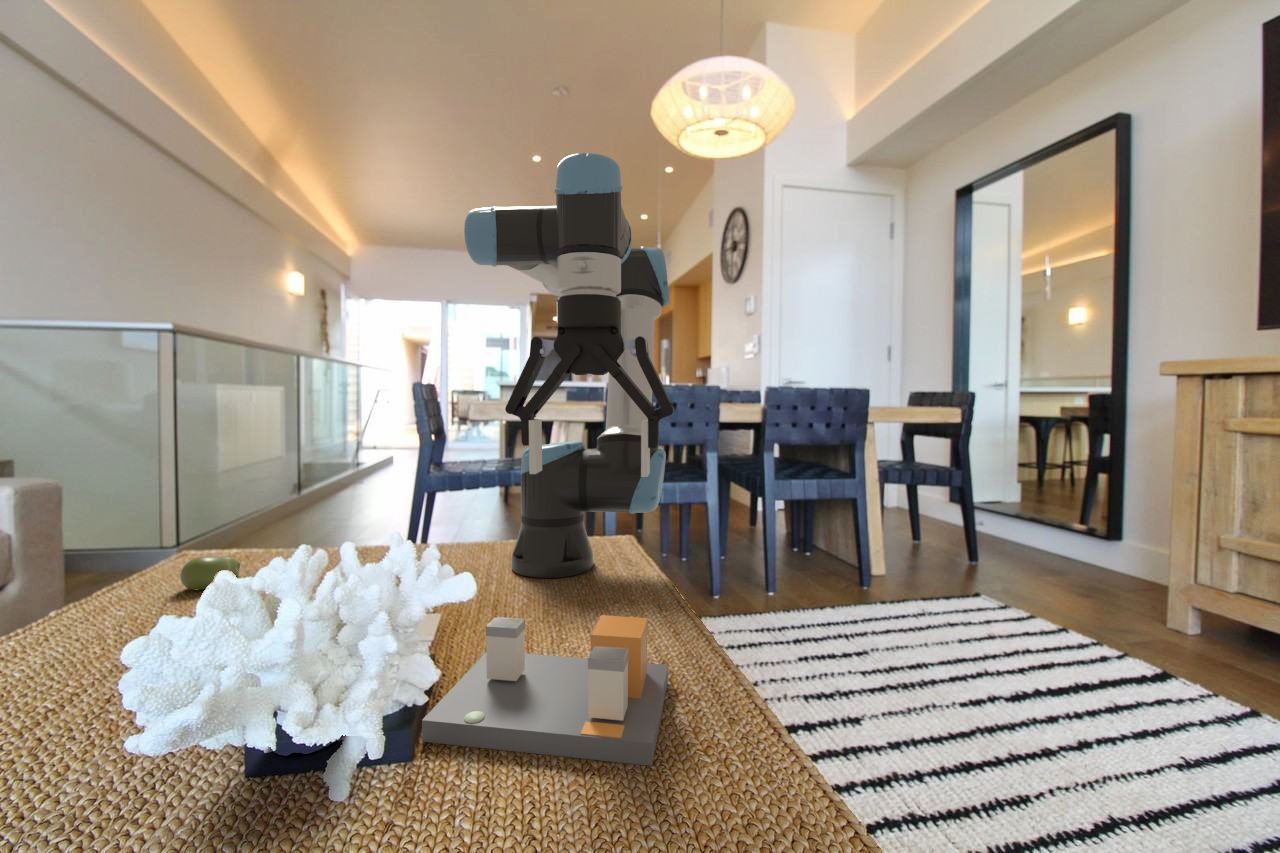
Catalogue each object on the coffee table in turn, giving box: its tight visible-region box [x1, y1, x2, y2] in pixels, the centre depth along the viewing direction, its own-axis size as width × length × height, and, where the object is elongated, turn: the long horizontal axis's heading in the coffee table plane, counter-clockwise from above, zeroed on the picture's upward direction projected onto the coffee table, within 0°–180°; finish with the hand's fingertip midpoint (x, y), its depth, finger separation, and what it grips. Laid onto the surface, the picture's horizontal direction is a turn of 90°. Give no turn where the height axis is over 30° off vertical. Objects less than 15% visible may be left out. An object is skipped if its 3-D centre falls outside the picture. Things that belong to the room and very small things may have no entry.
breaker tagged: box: [587, 646, 629, 721], centre depth 50 cm, size 2×3×6 cm
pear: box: [180, 555, 241, 591], centre depth 91 cm, size 6×5×10 cm
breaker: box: [485, 616, 526, 681], centre depth 57 cm, size 2×3×6 cm
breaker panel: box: [421, 652, 669, 767], centre depth 55 cm, size 14×21×2 cm, turn 82°
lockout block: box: [590, 614, 648, 698], centre depth 56 cm, size 5×5×6 cm
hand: (590, 473), depth 66 cm, fingers open, 13 cm apart
